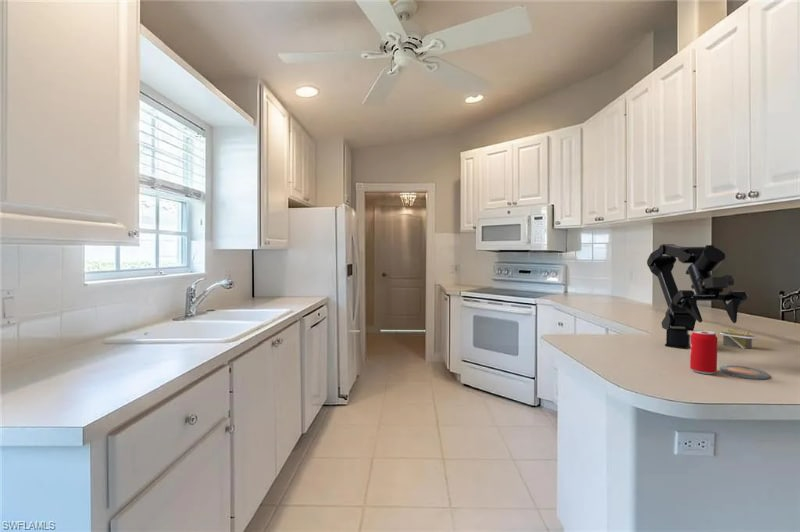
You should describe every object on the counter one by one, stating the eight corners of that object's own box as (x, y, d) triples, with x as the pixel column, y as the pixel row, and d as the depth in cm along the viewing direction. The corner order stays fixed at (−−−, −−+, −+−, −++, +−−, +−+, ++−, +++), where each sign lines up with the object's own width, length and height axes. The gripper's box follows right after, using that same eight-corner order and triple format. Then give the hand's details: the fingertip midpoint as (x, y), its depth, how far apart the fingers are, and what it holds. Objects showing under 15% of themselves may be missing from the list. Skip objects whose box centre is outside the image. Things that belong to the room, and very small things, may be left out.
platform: (768, 356, 132) (768, 337, 132) (702, 346, 146) (702, 329, 145) (772, 349, 140) (773, 331, 139) (709, 341, 153) (710, 324, 153)
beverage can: (712, 370, 117) (714, 330, 116) (719, 376, 111) (720, 334, 111) (687, 367, 120) (688, 328, 119) (692, 373, 114) (693, 333, 113)
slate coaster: (716, 373, 114) (716, 371, 114) (721, 365, 122) (722, 363, 122) (768, 382, 106) (768, 379, 106) (770, 372, 114) (770, 370, 114)
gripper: (680, 265, 124) (695, 309, 115) (748, 265, 120) (769, 311, 112) (666, 283, 133) (679, 325, 125) (729, 284, 129) (747, 327, 121)
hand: (717, 322), depth 120 cm, fingers open, 9 cm apart
